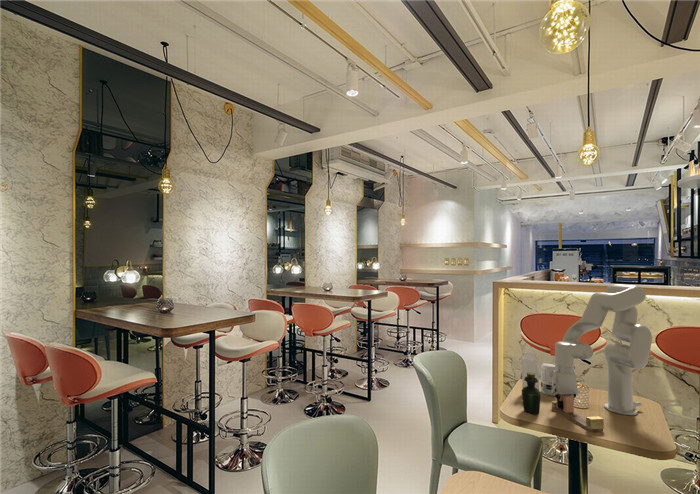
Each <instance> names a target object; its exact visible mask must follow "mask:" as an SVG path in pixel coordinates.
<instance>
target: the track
mask: <svg viewBox="0 0 700 494" xmlns="http://www.w3.org/2000/svg"><path fill="white" fill-rule="evenodd" d="M551 410H553V411H555V412H557V413H558V414H559V415H561V416H563V417H565V418H566V419H568V420H570V421H571V422H573V423H575V424H577V425H578V426H580V427H582V428H583V429H585V430H587V431H588V432H591V433H594V432H604V428H603V429H590V428H588V427H586V417H584V416H582V415H580V414H579V413H577V412H575V411H574V412H570V413H566V412H564V411H562V410H561V409H559V408H557V400H552V401H551Z"/></svg>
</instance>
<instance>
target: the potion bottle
mask: <svg viewBox="0 0 700 494" xmlns="http://www.w3.org/2000/svg"><path fill="white" fill-rule="evenodd" d="M524 380H525V381H527V385H528V386H526V387H524V388H523V387H522V388H521V395H522V396H521V397H522V398H521V399H522V405H523V407H522V408H523V411H524V413H526V414H529V415H534V416H537V415H539V414H540V408H541V396H542V391H541V390H540V389H539V390H538V389H537V388H535V383H537V382H538V380H537V378H535V373H532V372H527V377H525V379H524Z"/></svg>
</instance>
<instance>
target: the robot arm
mask: <svg viewBox="0 0 700 494" xmlns="http://www.w3.org/2000/svg"><path fill="white" fill-rule="evenodd" d="M605 289H606V290H605V291H606V292H602V291H601V292H594V293H593V294H592V295H591V297H590V298H589V300H588V302H587V305H586V307H585V308H584V309H585V310H584V311H583V314H582V315H581V318H580V319H579V320H578V321H576V322H575V323H573V324H572V325H571V326H570V327H568V329H567V330H566V331H565V333H564V336H563V338H562V341H557V342H555V344H554V365H555V371H554V372H553V376H552V391H551V394H552V395H551V396H553V397H555V399H556V401H557V406H558V408H560V409H561V410H563V409H564V405H563V401H562V399H563V395H564V394H569V395H571V396H573V397H574V399H575V398H576V397H577V396H578V395H579V394H580V391H579V390H578V384H577V383H578V382H577V375H576V372H575V369H576V366H575V362H574V360H575V359H576V360H577V359H578V360H589V359H590V358H592V357H594V350H593V347H592V346H590V345H589V344H588V343H584V342H582V341H579V339H580V338H581V337H582V335H585V334H586V333H588V332H590V331H594V330H598V329H600V328H601V327H602V325H603V323H604V322H605V319H606V316H607V314H608V312H611V313H614V320H613V323H612V330H611V333H612V336H613V338H614V339H616V340H618V341H622V342H625V343H628V344H629V345H628V344H623V343H620V342H610V343H608V344H606V345H605V347H604V350H603V352H604V353H603V354H604V356H605V361H606V368H607V369H606V370H607V373H606V374H607V402H605V403H604V404H603V405H604V408H605V409H606V410H608V411H610V412H613V413H615V414H619V415H624V416H636V415H637V414H638V410H637V409H636V407H642V405H643V404H642V402H641V401H634V399H633V398H634V397H633V396H634V395H633V394H634V391H633V373H632V369H635V370H642V369H643V368H645V367H646V366H647V364H648V362H649V357H650V354H651V348H652V343H653V342H652V341H653V335H652V332H651V329H649V327H648V326H645V325H643V324H640V323H637V322H638V309H637V307H636V306H638V305H641V304H642V303H643V302H644V301H645V300H646V298H647V293H646V290H644V288H642V287H641V286H638V285H634V284H633V285H632V284H631V285H630V284H619V283H617V284H615V283H614V284H610V285H608V286H607V287H606V288H605ZM556 392H557V393H556ZM559 395H560V397H559Z"/></svg>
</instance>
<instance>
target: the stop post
mask: <svg viewBox="0 0 700 494" xmlns="http://www.w3.org/2000/svg"><path fill="white" fill-rule="evenodd" d="M585 418H586V427H588V428H590V429H603V430H604V427H605V425H604V424H605V423H604V422H605V421H604V418H603V417H601V416H600V415H599V416H598V415H597V416H586V417H585Z"/></svg>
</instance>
